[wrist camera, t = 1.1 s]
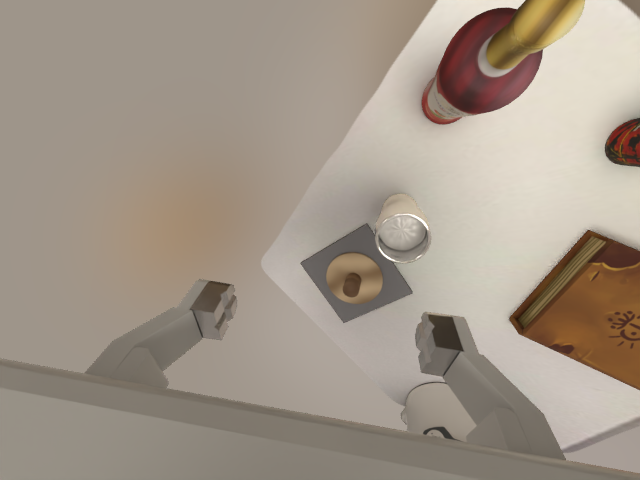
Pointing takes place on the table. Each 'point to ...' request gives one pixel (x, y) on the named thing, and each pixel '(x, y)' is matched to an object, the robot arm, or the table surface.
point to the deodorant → (625, 144)
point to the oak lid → (354, 278)
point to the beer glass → (402, 230)
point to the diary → (590, 308)
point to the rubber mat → (366, 245)
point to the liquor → (496, 58)
